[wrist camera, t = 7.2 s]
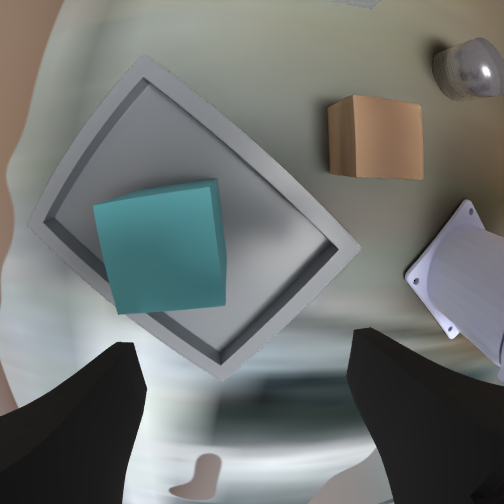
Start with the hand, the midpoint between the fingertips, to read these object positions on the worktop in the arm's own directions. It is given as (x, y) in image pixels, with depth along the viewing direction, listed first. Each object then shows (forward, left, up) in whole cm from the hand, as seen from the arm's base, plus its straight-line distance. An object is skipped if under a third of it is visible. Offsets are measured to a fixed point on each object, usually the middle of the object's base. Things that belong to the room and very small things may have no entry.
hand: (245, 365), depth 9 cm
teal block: (+4, 0, -9) cm, 10 cm away
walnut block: (0, -11, -9) cm, 14 cm away
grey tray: (+4, 0, -9) cm, 10 cm away
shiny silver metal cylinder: (-2, -21, -9) cm, 23 cm away
